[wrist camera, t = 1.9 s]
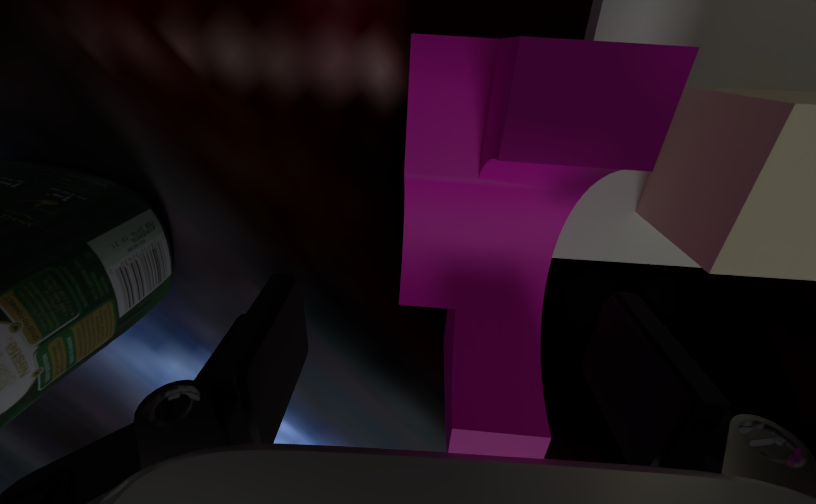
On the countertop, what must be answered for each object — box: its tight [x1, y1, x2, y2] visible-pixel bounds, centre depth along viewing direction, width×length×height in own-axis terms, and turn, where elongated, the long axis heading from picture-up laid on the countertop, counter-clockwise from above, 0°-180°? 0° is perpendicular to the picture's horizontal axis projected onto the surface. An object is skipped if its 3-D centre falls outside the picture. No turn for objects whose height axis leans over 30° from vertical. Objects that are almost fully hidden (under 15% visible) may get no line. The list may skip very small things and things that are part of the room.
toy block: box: [399, 33, 700, 459], centre depth 15 cm, size 15×6×8 cm, turn 177°
